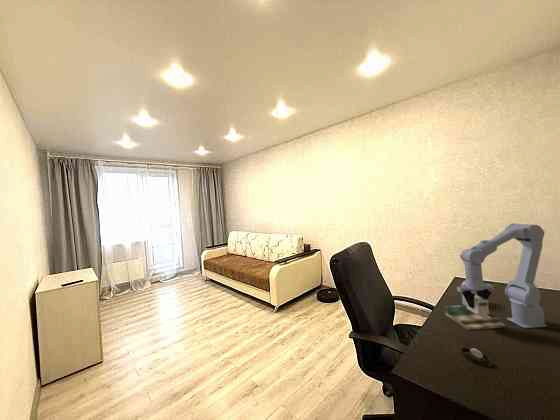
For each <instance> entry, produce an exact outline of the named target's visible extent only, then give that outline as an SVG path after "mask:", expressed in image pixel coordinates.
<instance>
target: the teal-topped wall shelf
mask: <svg viewBox="0 0 560 420" xmlns="http://www.w3.org/2000/svg"><path fill="white" fill-rule="evenodd" d="M444 315H446V317H448V318H450V319H451V320H452V321H454V322H456V323H457V324H458V325H461V326H462V327H463V328H464V329H466V330H467V331H472V330H486V329H498V328H499V329H500V328H501V329H502V328H507V326H506V324H505V323H503V322H501V321H500V318H498V317H492V316H489V314H484V315H478V314H476V313H474V312H472V311H470V310H469V309H467V305H464V304H460V305H459V304H457V305H445V312H444Z"/></svg>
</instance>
